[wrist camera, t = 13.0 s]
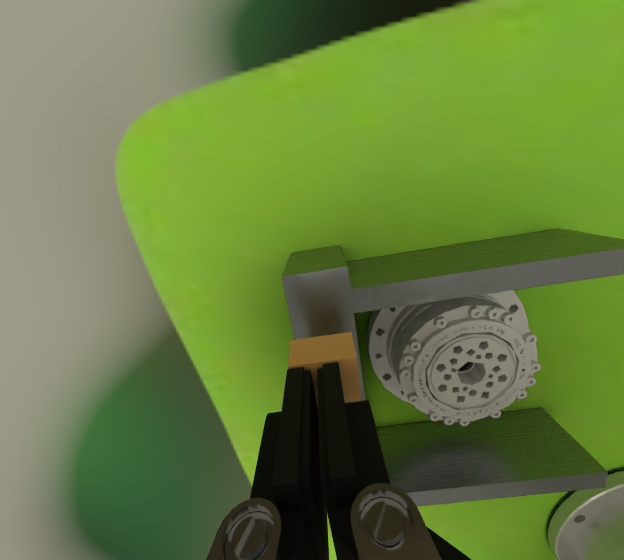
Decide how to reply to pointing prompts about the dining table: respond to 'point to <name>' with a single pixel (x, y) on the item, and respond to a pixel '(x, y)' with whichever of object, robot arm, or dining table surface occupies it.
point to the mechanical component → (455, 355)
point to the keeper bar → (328, 361)
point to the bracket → (442, 286)
